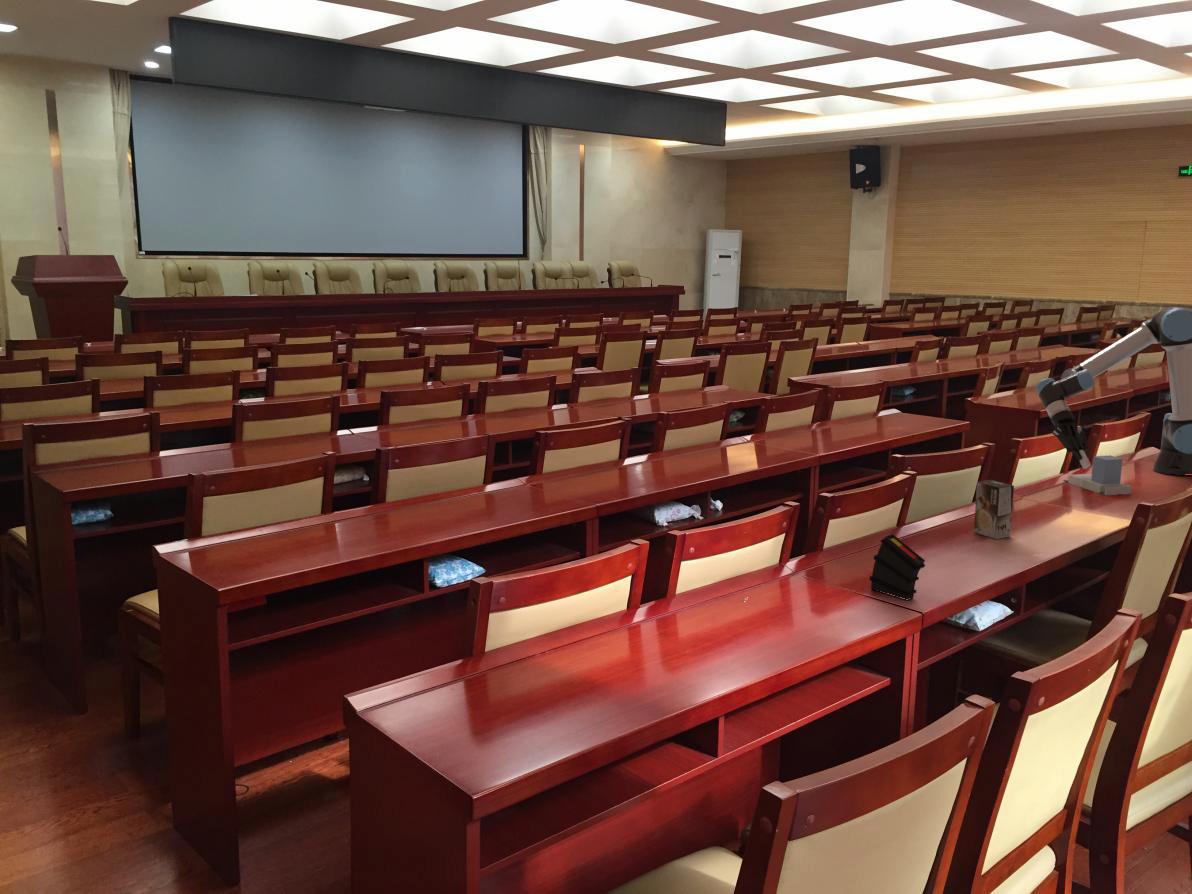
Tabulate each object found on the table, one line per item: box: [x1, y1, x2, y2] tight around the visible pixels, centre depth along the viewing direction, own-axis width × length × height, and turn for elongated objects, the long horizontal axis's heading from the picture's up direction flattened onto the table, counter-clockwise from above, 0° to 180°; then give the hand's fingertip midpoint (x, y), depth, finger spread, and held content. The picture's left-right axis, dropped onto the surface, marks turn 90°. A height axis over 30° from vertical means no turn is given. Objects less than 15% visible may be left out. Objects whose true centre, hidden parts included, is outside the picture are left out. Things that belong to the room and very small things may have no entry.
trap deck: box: [1063, 473, 1132, 496], centre depth 350 cm, size 10×22×3 cm, turn 12°
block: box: [1091, 454, 1123, 484], centre depth 344 cm, size 7×6×9 cm
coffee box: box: [973, 479, 1015, 540], centre depth 291 cm, size 9×6×16 cm
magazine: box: [868, 534, 926, 599], centre depth 240 cm, size 4×13×15 cm, turn 39°
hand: (1087, 466), depth 354 cm, fingers closed
